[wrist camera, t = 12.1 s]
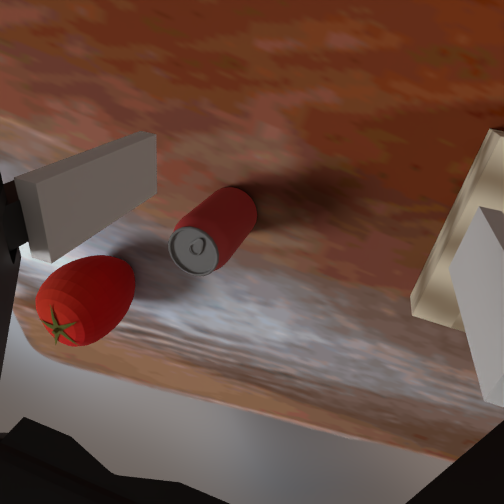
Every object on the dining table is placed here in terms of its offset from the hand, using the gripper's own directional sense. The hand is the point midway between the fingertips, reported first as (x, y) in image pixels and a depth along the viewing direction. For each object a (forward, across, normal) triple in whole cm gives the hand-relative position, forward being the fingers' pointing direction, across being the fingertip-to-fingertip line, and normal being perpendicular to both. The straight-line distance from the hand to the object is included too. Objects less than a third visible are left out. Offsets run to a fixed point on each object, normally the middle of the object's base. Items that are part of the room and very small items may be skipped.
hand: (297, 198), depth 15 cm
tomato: (+26, -29, -30) cm, 50 cm away
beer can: (+27, -11, -15) cm, 32 cm away
